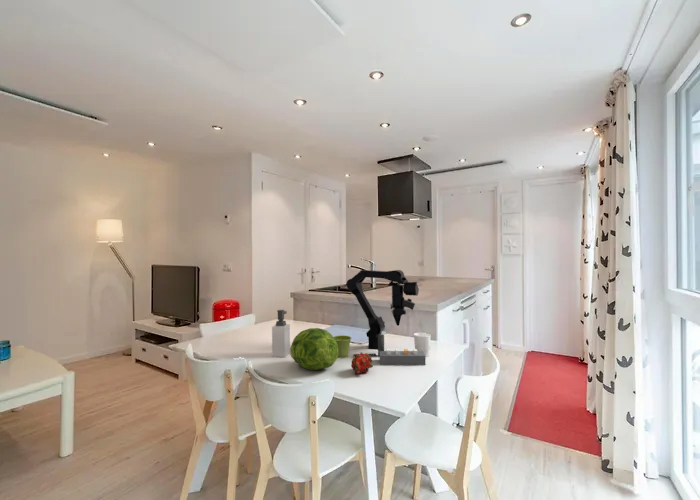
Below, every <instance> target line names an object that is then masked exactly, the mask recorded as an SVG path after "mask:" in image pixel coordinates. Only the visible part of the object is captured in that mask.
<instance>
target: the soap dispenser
mask: <svg viewBox="0 0 700 500" xmlns="http://www.w3.org/2000/svg"><path fill="white" fill-rule="evenodd" d="M276 312H277V321H276V323H275V324H274V325H273V326H271V342H272V343H271V344H272V345H271V347H272V349H271V350H272V351H271V353H272V355H271V357H272V358H274V357H275V358H286V357H287V356H288V355H290V354H289V353H290V347H291V334H290V333H291V332H290V331H291V330H290V329H291V325H290V324H288V323H287V322H286V320H285V315H286V314H287V310H285V309H277V310H276Z"/></svg>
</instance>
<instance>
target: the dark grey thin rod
mask: <svg viewBox="0 0 700 500" xmlns="http://www.w3.org/2000/svg"><path fill="white" fill-rule="evenodd" d="M352 355H353V356H352V357H353V358H354V357H355V355H360V353H355V354H354V353H353V354H352ZM368 355H369V356H371V357H376V356H377V353H376V352H375V353H368Z"/></svg>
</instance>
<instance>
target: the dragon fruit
mask: <svg viewBox="0 0 700 500" xmlns="http://www.w3.org/2000/svg"><path fill="white" fill-rule="evenodd" d="M359 354H360V355H355V357H353V358H352V359H351V365H350V367H351V369H352V370H353V371H355V372H354V374H355V375H357V374H362V373H364V374H367V373H368V372H369V370H370V369H372V368H374V364H372V363H373V359H372V356H369V355H368V354H369V353H367V352H365V353H363V352H359Z"/></svg>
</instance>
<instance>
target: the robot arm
mask: <svg viewBox="0 0 700 500" xmlns="http://www.w3.org/2000/svg"><path fill="white" fill-rule="evenodd" d="M366 278H372V279H383V280H384V279H385V280H387V281H390V282H389V283H388V284H387V287H388V286H389V287H391V303H390V309H391V313H392V316H393V319H394V321H395V324H396V326H400V323H401V318H402V316H403V315H406V314H407V311H406V308H408V309H410V310H412V311H413V310H414V307H415V305H416V303H415V302H413V301H412V299H411V298H407V299H405V297H404V294H405V296H415V297H417V296H418V295H419V291H420V289H419V286H418V282H417V281H409V280H408V279H407V278H406V276H405V272H404V271H403V270H401V269H394V270H386V271H385V270H373V269H361V270H360V271H359V272H358V273H357V274H355V275H353V277H351V278H349V279H348V280H347V281H346V284H345V285H346V288H347V290H349V292H351V294H353V295H354V296H355V298H356V300H357V302H358V304H359V305H360V307H361V309H362V310H363V313H364V314H365V316H366V318H367V322H368V328H369V329H368V330H367V331H366V333H365V334H366V337H367V338H368V339H367V341H368V342H367V343H368V345H367V348H368V349H369V350H378V335H379V334H382V332H383V331H384V330H385V328H386V325H385V323H386V322H385V321H384V320H383V317H382V316H378V315H377V314H376V313H375V310H374V309H373V308H372V306H371V304H370V302H369V300H368V298H367V297H366V295H365V294H364V291H363V285H362V283H363V282H364V281H365V279H366Z"/></svg>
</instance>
